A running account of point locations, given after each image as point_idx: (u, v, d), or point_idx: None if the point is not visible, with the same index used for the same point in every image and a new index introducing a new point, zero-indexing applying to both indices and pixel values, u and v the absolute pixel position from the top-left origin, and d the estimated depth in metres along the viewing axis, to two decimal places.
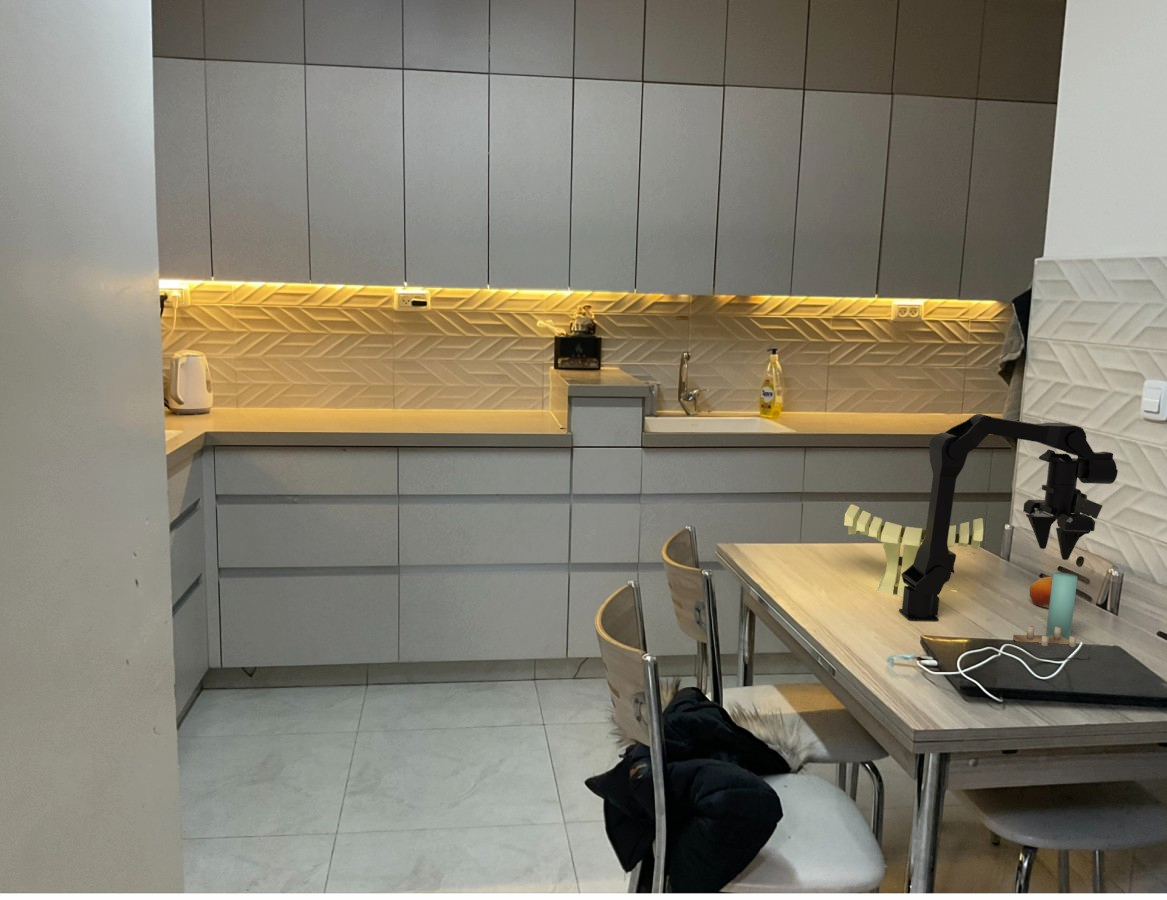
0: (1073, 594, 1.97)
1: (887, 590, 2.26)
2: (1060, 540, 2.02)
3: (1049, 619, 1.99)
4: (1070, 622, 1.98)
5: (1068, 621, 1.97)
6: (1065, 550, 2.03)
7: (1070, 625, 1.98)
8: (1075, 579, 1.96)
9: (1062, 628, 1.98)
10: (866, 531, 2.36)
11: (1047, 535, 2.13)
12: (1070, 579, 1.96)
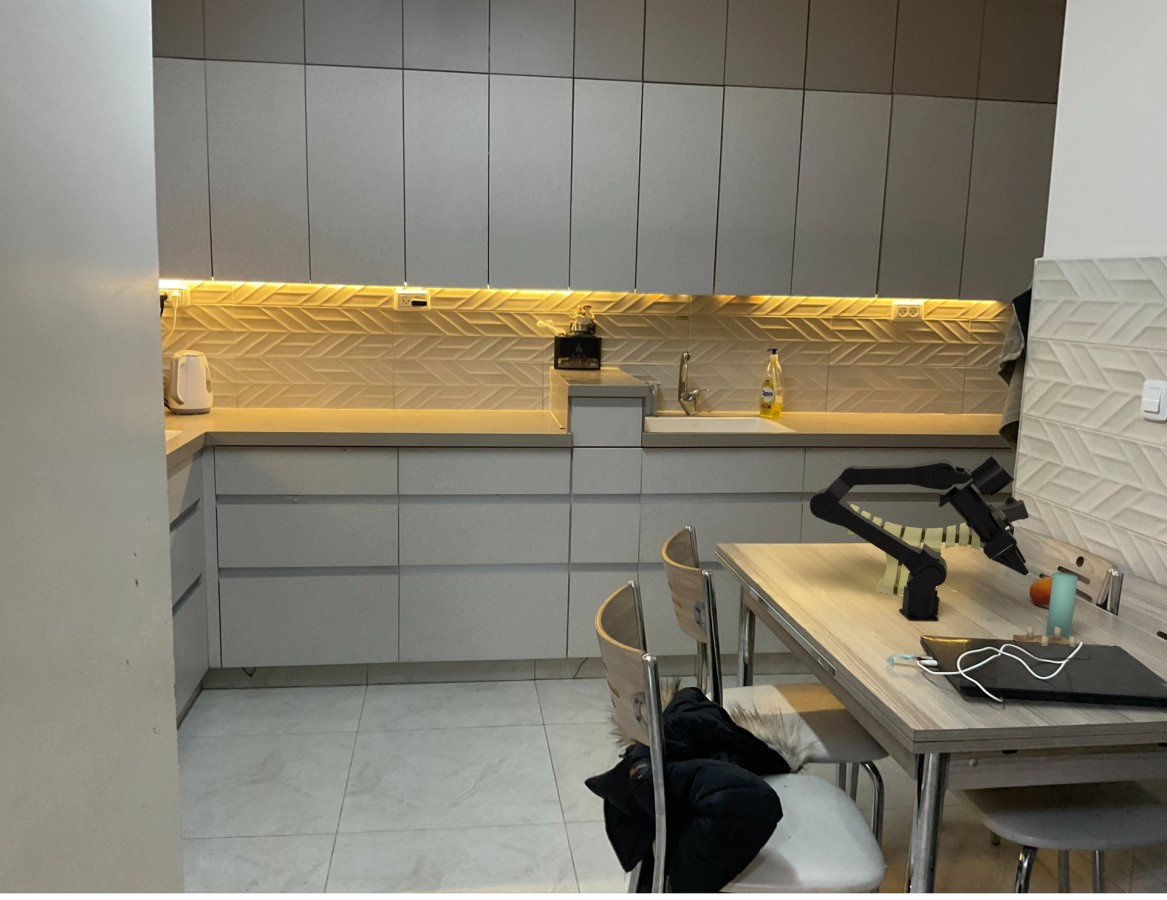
0: (1073, 594, 1.97)
1: (887, 590, 2.26)
2: (1003, 564, 1.97)
3: (1049, 619, 1.99)
4: (1070, 622, 1.98)
5: (1068, 621, 1.97)
6: (1017, 568, 1.96)
7: (1070, 625, 1.98)
8: (1075, 579, 1.96)
9: (1062, 628, 1.98)
10: None
11: (1017, 550, 2.05)
12: (1070, 579, 1.96)
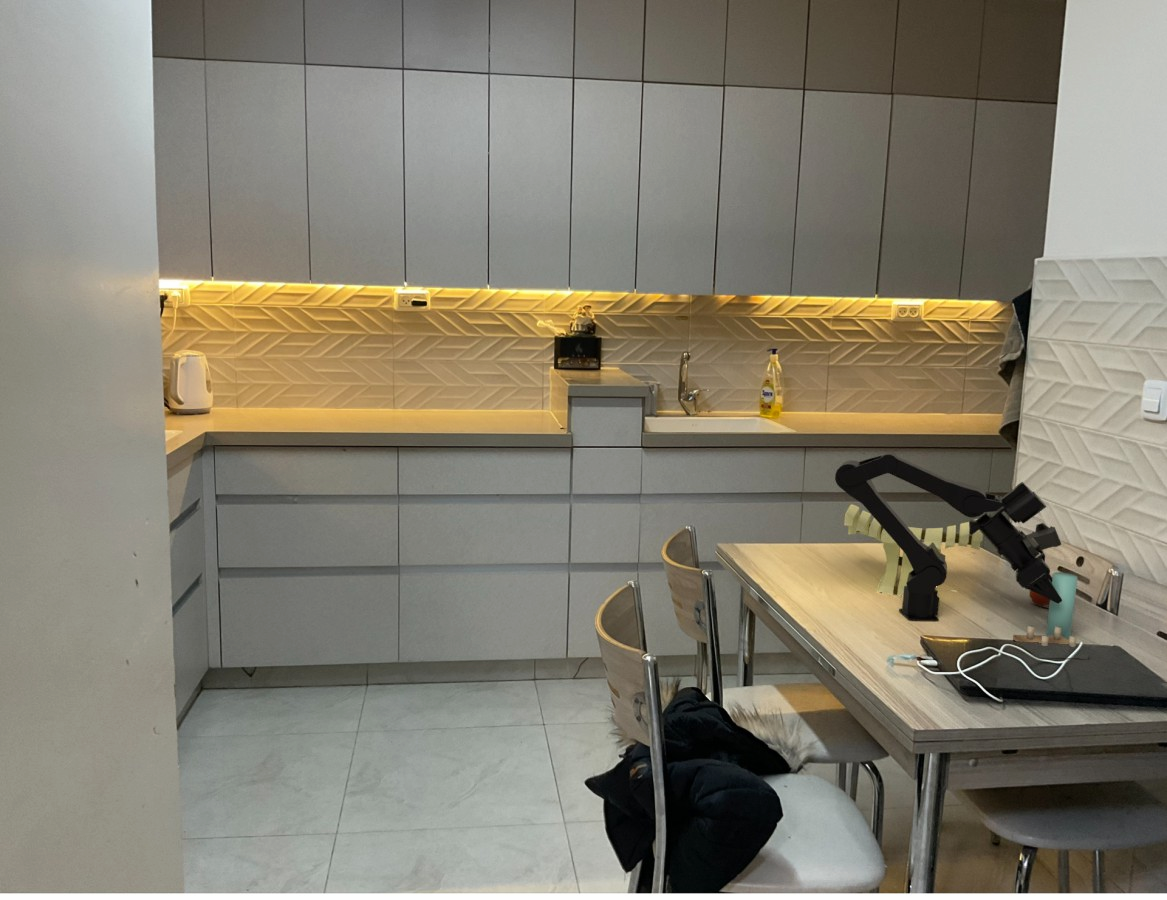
0: (1073, 594, 1.97)
1: (887, 590, 2.26)
2: (1036, 592, 1.95)
3: (1049, 619, 1.99)
4: (1070, 622, 1.98)
5: (1068, 621, 1.97)
6: (1050, 596, 1.95)
7: (1070, 625, 1.98)
8: (1075, 579, 1.96)
9: (1062, 628, 1.98)
10: (866, 531, 2.36)
11: (1049, 577, 2.03)
12: (1070, 579, 1.96)
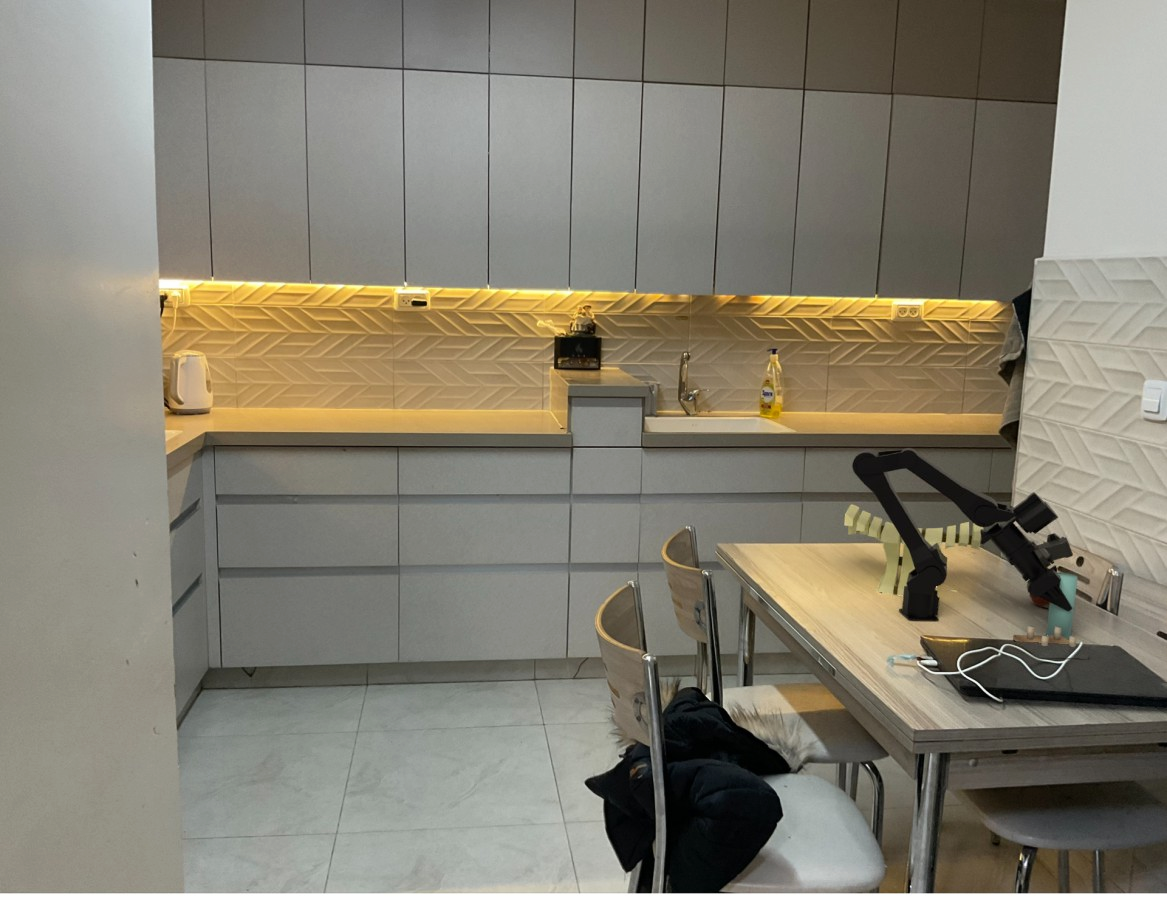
0: (1073, 594, 1.97)
1: (887, 590, 2.26)
2: (1046, 600, 1.97)
3: (1049, 619, 1.99)
4: (1070, 622, 1.98)
5: (1069, 621, 1.97)
6: (1060, 604, 1.96)
7: (1070, 625, 1.98)
8: (1075, 579, 1.96)
9: (1062, 628, 1.97)
10: (866, 531, 2.36)
11: None
12: (1070, 579, 1.96)
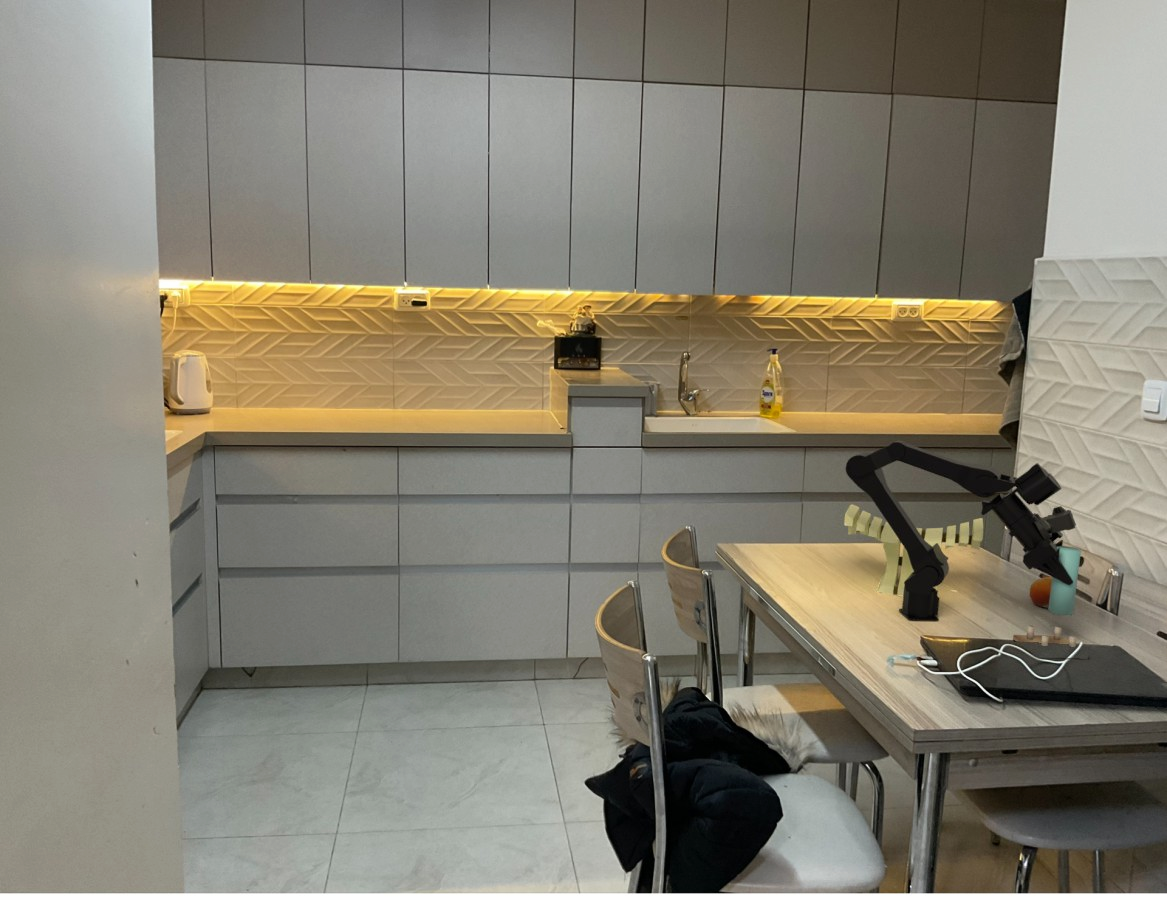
0: (1075, 568, 1.92)
1: (887, 590, 2.26)
2: None
3: (1050, 593, 1.96)
4: (1072, 597, 1.93)
5: (1070, 595, 1.93)
6: (1060, 577, 1.92)
7: (1072, 600, 1.93)
8: (1077, 552, 1.92)
9: (1063, 602, 1.93)
10: (866, 531, 2.36)
11: None
12: (1071, 552, 1.92)
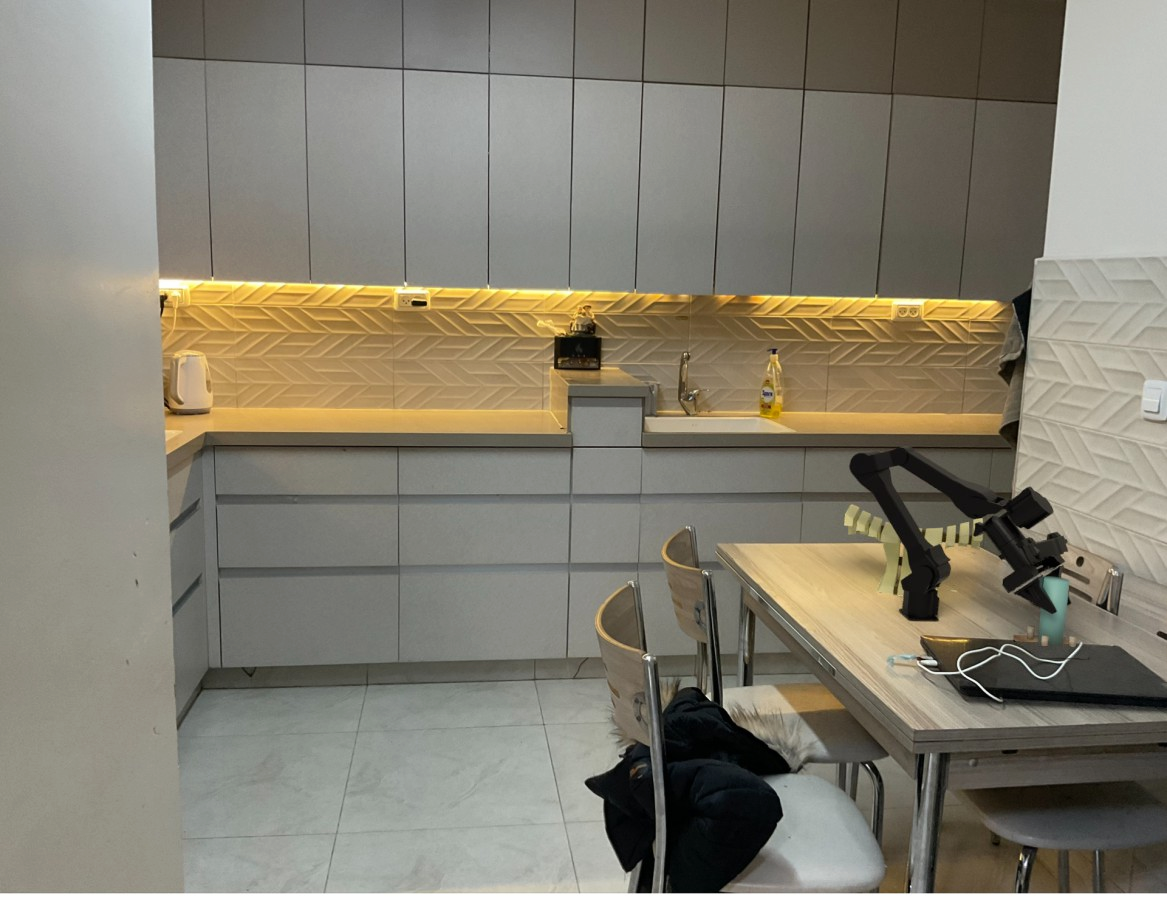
0: (1061, 599, 1.88)
1: (887, 590, 2.26)
2: None
3: (1039, 624, 1.92)
4: (1059, 628, 1.89)
5: (1056, 627, 1.89)
6: (1043, 605, 1.87)
7: (1059, 632, 1.89)
8: (1063, 583, 1.88)
9: (1049, 634, 1.90)
10: (866, 531, 2.36)
11: None
12: (1057, 583, 1.88)
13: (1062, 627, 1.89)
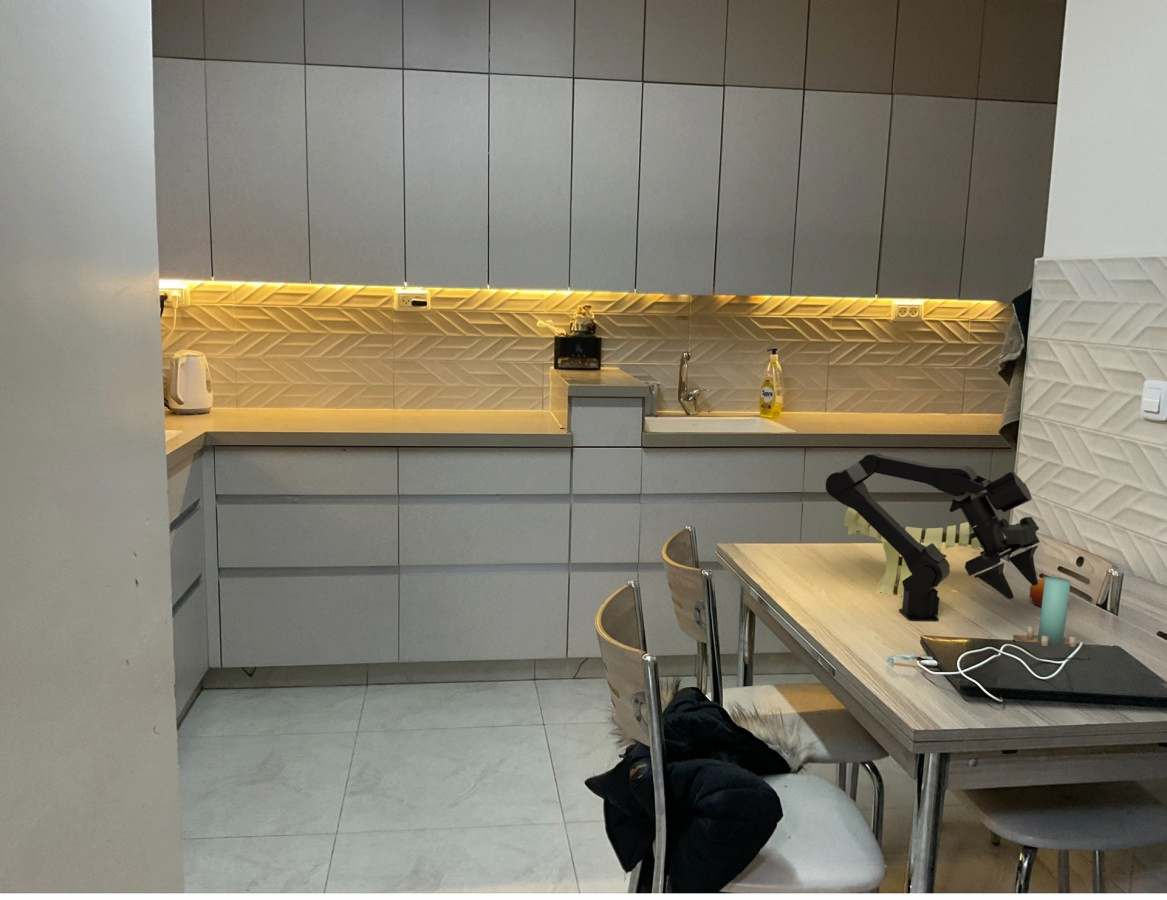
0: (1062, 600, 1.88)
1: (887, 590, 2.26)
2: None
3: None
4: (1059, 629, 1.89)
5: (1057, 628, 1.89)
6: (1001, 590, 1.94)
7: (1059, 632, 1.89)
8: (1064, 584, 1.88)
9: (1049, 634, 1.90)
10: (866, 531, 2.36)
11: (1031, 570, 1.99)
12: (1058, 583, 1.88)
13: (1062, 628, 1.89)
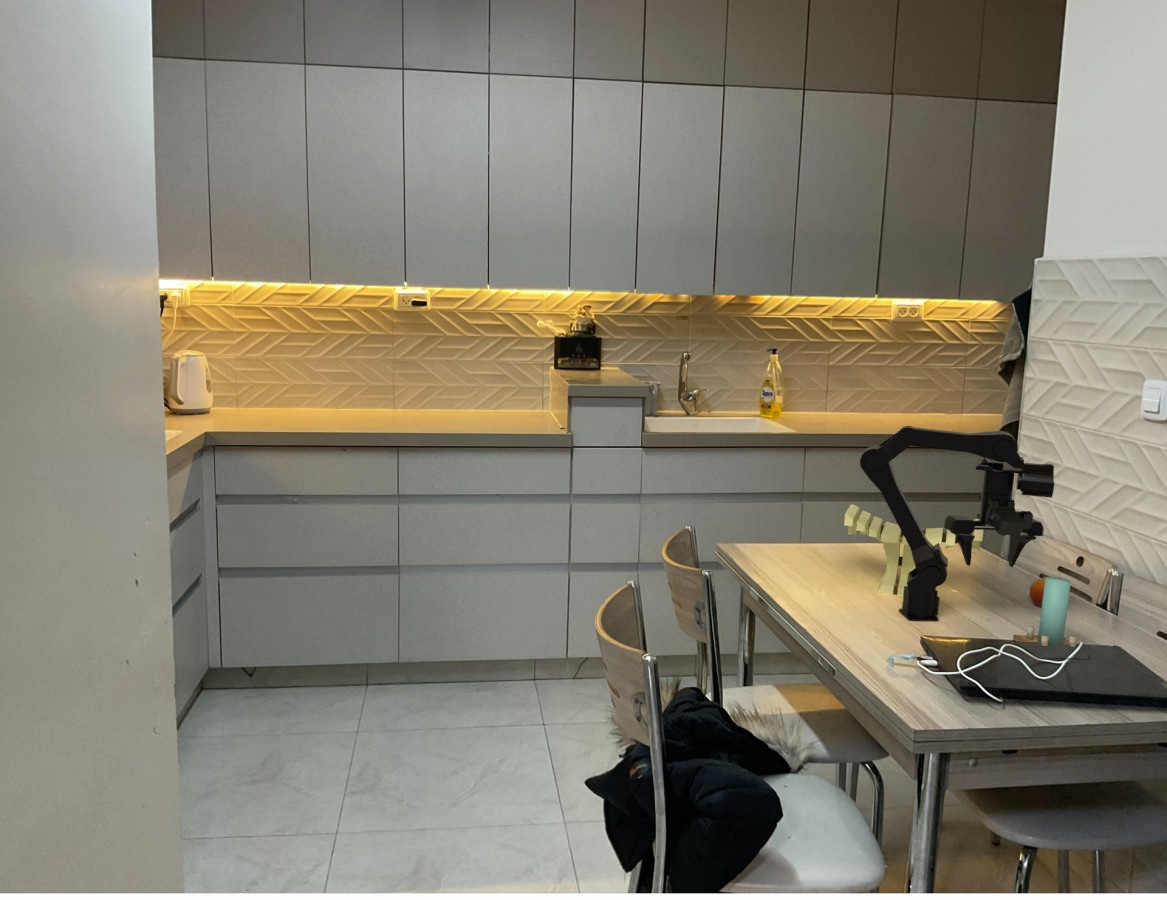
0: (1062, 600, 1.88)
1: (887, 590, 2.26)
2: None
3: None
4: (1059, 629, 1.89)
5: (1057, 628, 1.89)
6: (963, 554, 2.03)
7: (1059, 632, 1.89)
8: (1065, 584, 1.88)
9: (1049, 634, 1.90)
10: (866, 531, 2.36)
11: (1014, 553, 2.02)
12: (1058, 583, 1.88)
13: (1062, 628, 1.89)
